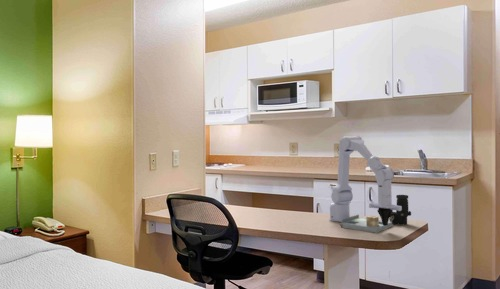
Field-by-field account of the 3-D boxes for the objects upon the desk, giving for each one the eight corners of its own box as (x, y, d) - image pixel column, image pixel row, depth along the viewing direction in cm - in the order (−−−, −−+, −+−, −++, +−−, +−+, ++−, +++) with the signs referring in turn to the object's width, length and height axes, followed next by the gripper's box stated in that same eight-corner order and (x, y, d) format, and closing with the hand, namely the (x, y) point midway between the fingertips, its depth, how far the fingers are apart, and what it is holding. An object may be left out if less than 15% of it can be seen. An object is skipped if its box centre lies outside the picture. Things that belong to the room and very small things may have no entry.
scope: (389, 193, 205) (410, 194, 201) (389, 221, 205) (411, 222, 202) (388, 196, 197) (411, 197, 194) (389, 225, 198) (411, 226, 194)
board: (341, 227, 196) (341, 219, 196) (357, 221, 208) (357, 214, 207) (376, 232, 184) (376, 224, 183) (392, 226, 195) (392, 218, 195)
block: (366, 225, 189) (366, 217, 189) (370, 224, 192) (370, 215, 192) (374, 226, 186) (374, 218, 186) (378, 225, 189) (378, 216, 189)
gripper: (365, 194, 187) (366, 224, 187) (396, 197, 177) (397, 228, 177) (372, 192, 192) (373, 221, 192) (403, 195, 182) (403, 225, 182)
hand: (385, 225), depth 185 cm, fingers closed
